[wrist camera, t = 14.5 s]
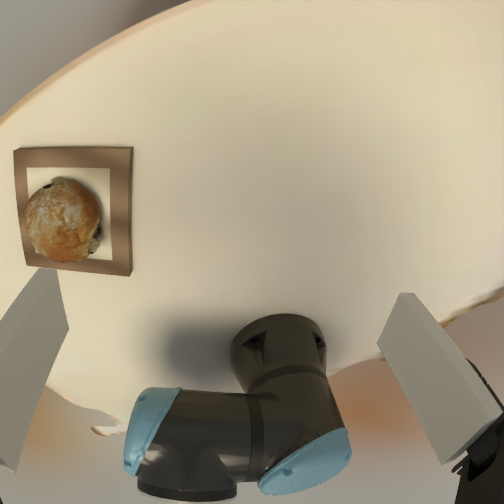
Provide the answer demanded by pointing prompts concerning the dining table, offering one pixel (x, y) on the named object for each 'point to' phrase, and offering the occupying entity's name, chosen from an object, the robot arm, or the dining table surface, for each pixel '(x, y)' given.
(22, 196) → the walnut frame
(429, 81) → the dining table surface
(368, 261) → the dining table surface
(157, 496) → the robot arm
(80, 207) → the bread roll
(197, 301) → the dining table surface
